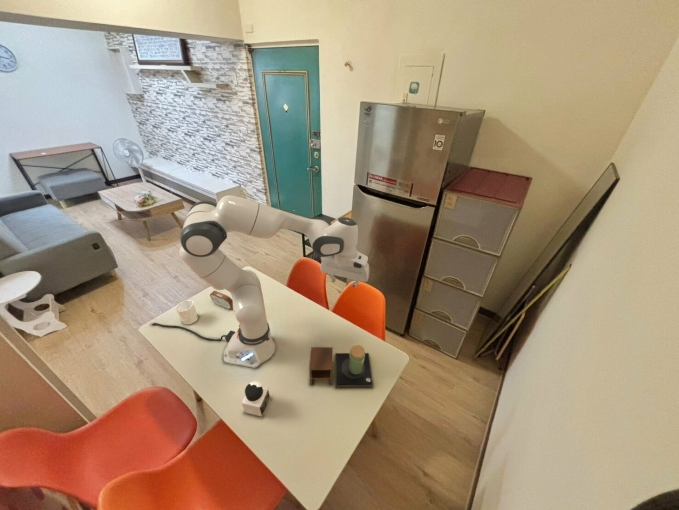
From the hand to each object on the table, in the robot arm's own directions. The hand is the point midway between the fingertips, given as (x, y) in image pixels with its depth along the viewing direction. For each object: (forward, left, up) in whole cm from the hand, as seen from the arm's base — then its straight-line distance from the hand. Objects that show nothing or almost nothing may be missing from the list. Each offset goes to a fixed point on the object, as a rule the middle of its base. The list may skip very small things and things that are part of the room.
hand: (343, 283), depth 111 cm
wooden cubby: (-9, -20, -33) cm, 40 cm away
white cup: (-77, +10, -33) cm, 84 cm away
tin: (-63, +20, -33) cm, 74 cm away
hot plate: (+5, -19, -33) cm, 38 cm away
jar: (+6, -19, -31) cm, 36 cm away
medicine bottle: (-33, -33, -33) cm, 57 cm away
